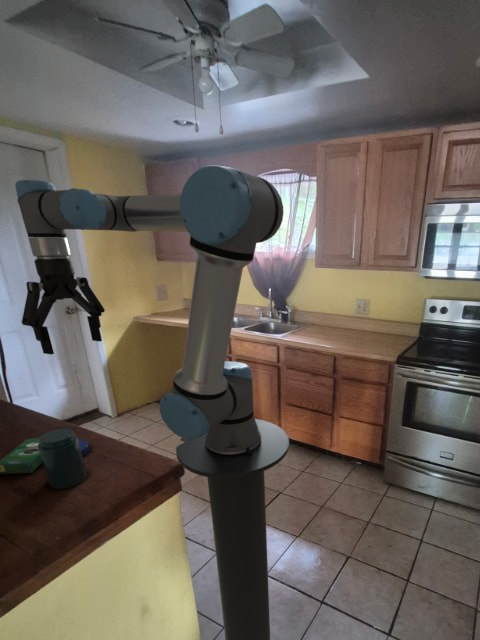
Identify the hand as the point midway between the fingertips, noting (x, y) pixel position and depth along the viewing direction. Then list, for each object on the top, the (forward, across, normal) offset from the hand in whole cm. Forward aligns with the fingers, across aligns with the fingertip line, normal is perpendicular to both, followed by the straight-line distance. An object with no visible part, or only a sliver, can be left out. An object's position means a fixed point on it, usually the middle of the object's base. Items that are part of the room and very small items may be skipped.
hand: (74, 346), depth 94 cm
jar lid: (+25, +9, +2) cm, 26 cm away
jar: (+26, +17, +11) cm, 33 cm away
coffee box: (+25, +9, -8) cm, 28 cm away
